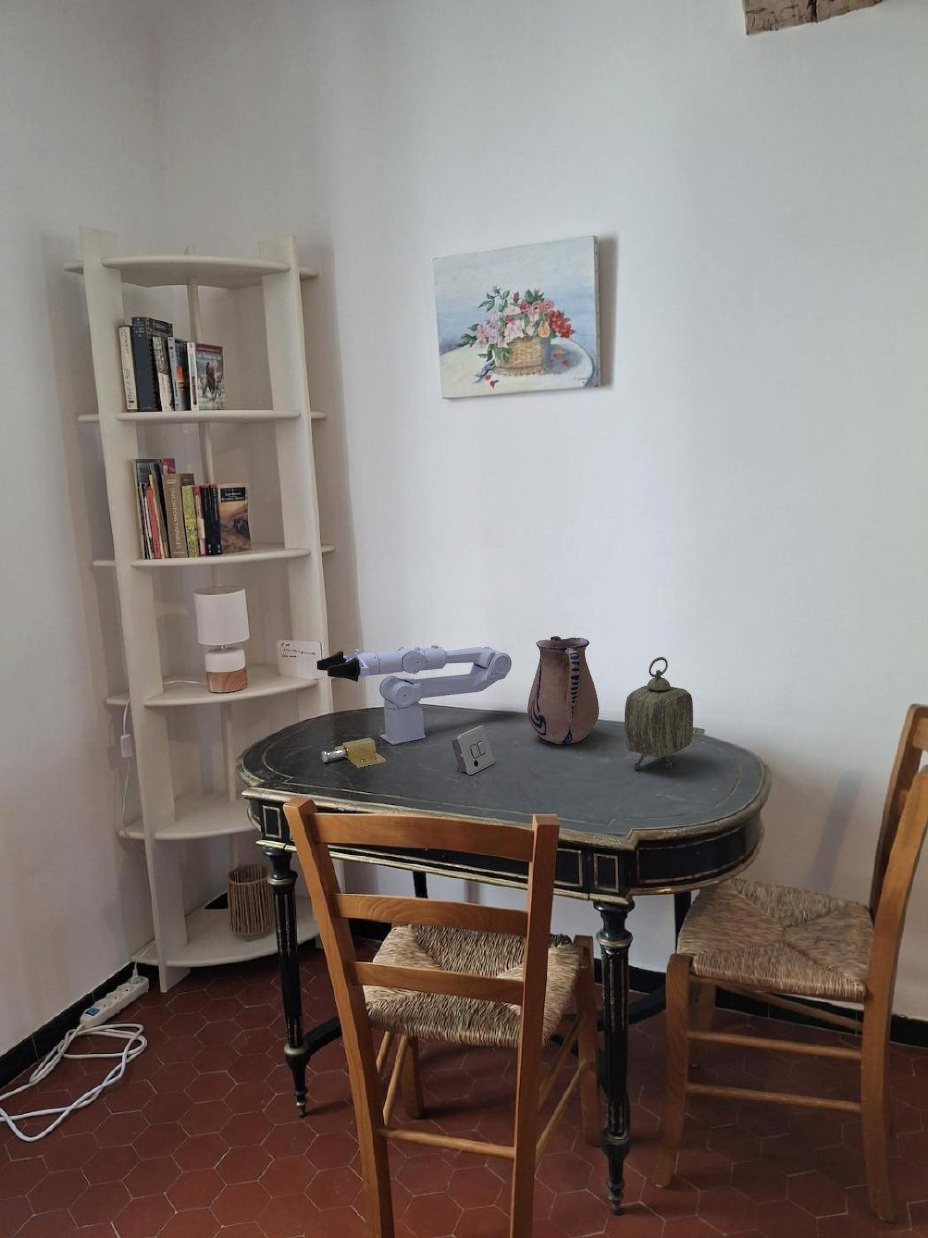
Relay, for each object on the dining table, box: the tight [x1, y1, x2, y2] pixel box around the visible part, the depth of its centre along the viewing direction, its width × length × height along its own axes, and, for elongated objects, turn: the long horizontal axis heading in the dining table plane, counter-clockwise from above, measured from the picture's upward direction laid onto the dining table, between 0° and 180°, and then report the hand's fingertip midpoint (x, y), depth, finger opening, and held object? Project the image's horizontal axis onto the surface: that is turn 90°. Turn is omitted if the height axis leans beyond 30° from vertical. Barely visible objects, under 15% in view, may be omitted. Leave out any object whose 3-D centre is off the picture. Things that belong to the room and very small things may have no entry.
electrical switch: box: [450, 725, 495, 776], centre depth 210 cm, size 9×5×9 cm, turn 141°
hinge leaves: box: [334, 737, 387, 769], centre depth 223 cm, size 7×16×3 cm, turn 28°
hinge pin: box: [321, 749, 348, 763], centre depth 221 cm, size 9×3×3 cm, turn 118°
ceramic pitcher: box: [527, 635, 600, 745], centre depth 224 cm, size 18×21×25 cm
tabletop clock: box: [623, 656, 694, 771], centre depth 203 cm, size 14×9×25 cm, turn 134°
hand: (322, 668), depth 222 cm, fingers open, 7 cm apart
